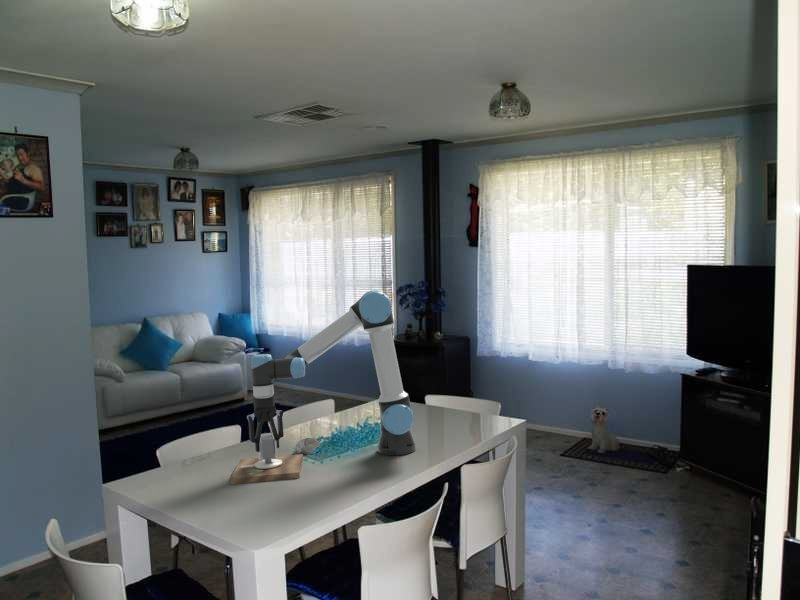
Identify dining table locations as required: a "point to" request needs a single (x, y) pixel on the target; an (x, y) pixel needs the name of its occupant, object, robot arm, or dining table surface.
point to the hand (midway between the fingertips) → (268, 458)
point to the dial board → (268, 470)
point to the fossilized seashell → (306, 446)
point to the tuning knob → (266, 454)
